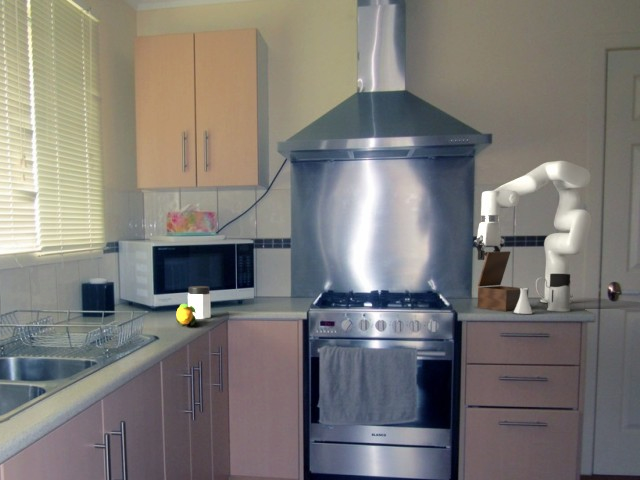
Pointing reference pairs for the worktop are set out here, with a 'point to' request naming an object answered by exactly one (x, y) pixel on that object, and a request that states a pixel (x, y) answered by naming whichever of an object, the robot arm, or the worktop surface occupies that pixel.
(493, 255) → the lid
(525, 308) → the flask
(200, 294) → the jar
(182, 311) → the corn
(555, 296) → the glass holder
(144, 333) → the worktop surface
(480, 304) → the chest
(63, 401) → the worktop surface
